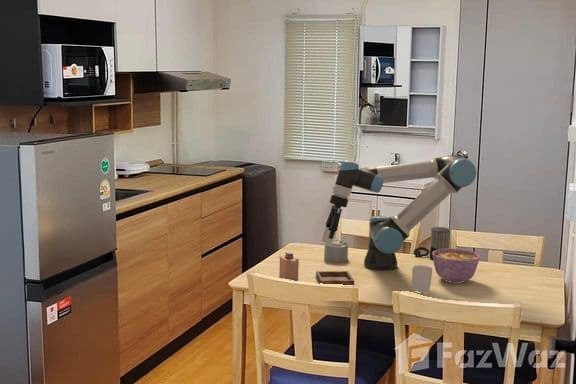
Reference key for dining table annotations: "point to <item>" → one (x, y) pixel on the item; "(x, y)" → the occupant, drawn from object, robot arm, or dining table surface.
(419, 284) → the white cup
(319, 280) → the tray
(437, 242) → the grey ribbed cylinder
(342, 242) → the lumpy-topped squat cylinder
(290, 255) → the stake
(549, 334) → the dining table surface
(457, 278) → the bowl of food
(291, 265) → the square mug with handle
